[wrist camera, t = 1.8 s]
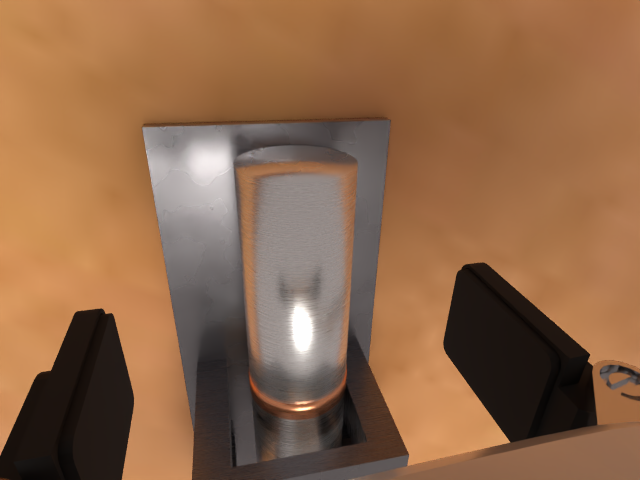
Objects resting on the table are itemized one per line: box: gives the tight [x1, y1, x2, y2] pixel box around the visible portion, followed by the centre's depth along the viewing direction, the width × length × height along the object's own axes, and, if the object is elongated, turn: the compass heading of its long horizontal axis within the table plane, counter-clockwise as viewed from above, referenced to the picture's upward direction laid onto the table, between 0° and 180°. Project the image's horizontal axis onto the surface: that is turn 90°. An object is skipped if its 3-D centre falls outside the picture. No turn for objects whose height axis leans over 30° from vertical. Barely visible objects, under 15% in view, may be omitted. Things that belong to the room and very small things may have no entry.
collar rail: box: [142, 118, 409, 480], centre depth 21 cm, size 11×25×9 cm, turn 179°
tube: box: [234, 145, 358, 463], centre depth 22 cm, size 18×5×5 cm, turn 179°
